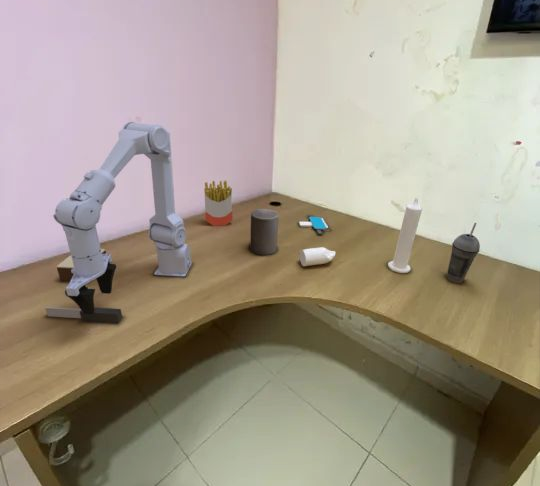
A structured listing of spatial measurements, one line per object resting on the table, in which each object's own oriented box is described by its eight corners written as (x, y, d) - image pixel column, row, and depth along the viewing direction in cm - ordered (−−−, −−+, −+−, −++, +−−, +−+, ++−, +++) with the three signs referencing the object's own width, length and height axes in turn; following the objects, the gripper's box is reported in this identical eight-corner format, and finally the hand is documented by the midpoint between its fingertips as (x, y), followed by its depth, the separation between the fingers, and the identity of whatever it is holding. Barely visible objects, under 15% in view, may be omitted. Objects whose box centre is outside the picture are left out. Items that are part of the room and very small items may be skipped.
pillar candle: (245, 251, 109) (245, 212, 103) (256, 240, 118) (257, 203, 111) (271, 257, 106) (273, 217, 100) (280, 245, 114) (283, 207, 108)
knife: (122, 317, 76) (120, 308, 75) (118, 323, 75) (116, 314, 73) (51, 313, 77) (48, 304, 76) (45, 318, 75) (42, 309, 74)
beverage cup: (464, 275, 101) (485, 219, 92) (469, 287, 95) (492, 228, 86) (440, 270, 103) (458, 215, 94) (443, 282, 97) (463, 224, 88)
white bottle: (338, 265, 103) (340, 251, 101) (304, 269, 100) (306, 254, 98) (330, 257, 108) (332, 242, 106) (298, 260, 105) (299, 245, 103)
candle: (410, 265, 105) (429, 195, 95) (409, 275, 99) (429, 202, 89) (388, 260, 108) (405, 191, 97) (386, 270, 102) (403, 198, 91)
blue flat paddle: (296, 216, 142) (296, 212, 141) (321, 216, 143) (321, 212, 142) (303, 235, 124) (304, 231, 123) (332, 235, 125) (333, 231, 124)
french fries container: (232, 225, 129) (232, 183, 122) (206, 226, 127) (204, 184, 120) (231, 221, 133) (231, 180, 126) (206, 221, 131) (204, 180, 124)
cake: (101, 269, 95) (97, 255, 93) (88, 282, 89) (84, 268, 87) (75, 268, 95) (71, 254, 93) (60, 281, 89) (56, 266, 87)
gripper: (87, 236, 74) (98, 283, 80) (44, 268, 61) (61, 322, 67) (116, 238, 74) (125, 285, 80) (80, 270, 61) (93, 324, 67)
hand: (98, 302), depth 73 cm, fingers open, 7 cm apart
